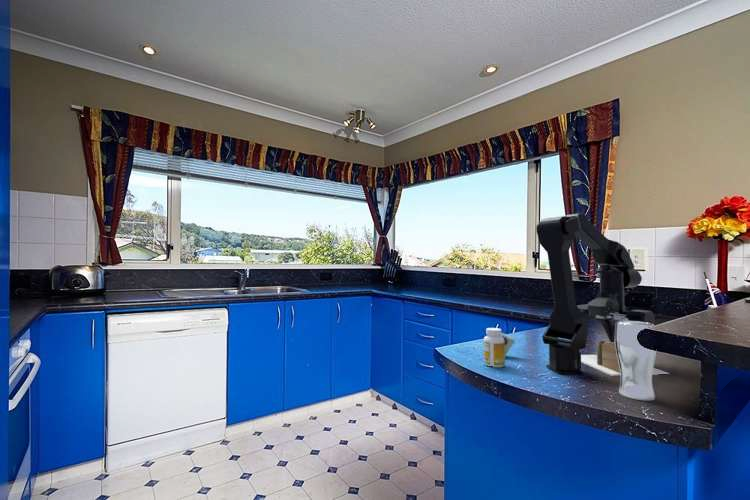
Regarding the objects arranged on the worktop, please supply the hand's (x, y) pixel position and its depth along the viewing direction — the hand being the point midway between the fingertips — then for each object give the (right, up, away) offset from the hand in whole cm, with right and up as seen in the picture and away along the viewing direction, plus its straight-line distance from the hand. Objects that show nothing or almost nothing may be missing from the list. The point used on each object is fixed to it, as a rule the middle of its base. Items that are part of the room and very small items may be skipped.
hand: (613, 343), depth 101 cm
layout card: (-3, -4, -5) cm, 8 cm away
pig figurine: (-30, -5, +4) cm, 31 cm away
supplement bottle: (-36, -5, -5) cm, 36 cm away
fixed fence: (-7, -4, -11) cm, 14 cm away
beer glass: (-14, -4, -27) cm, 31 cm away
